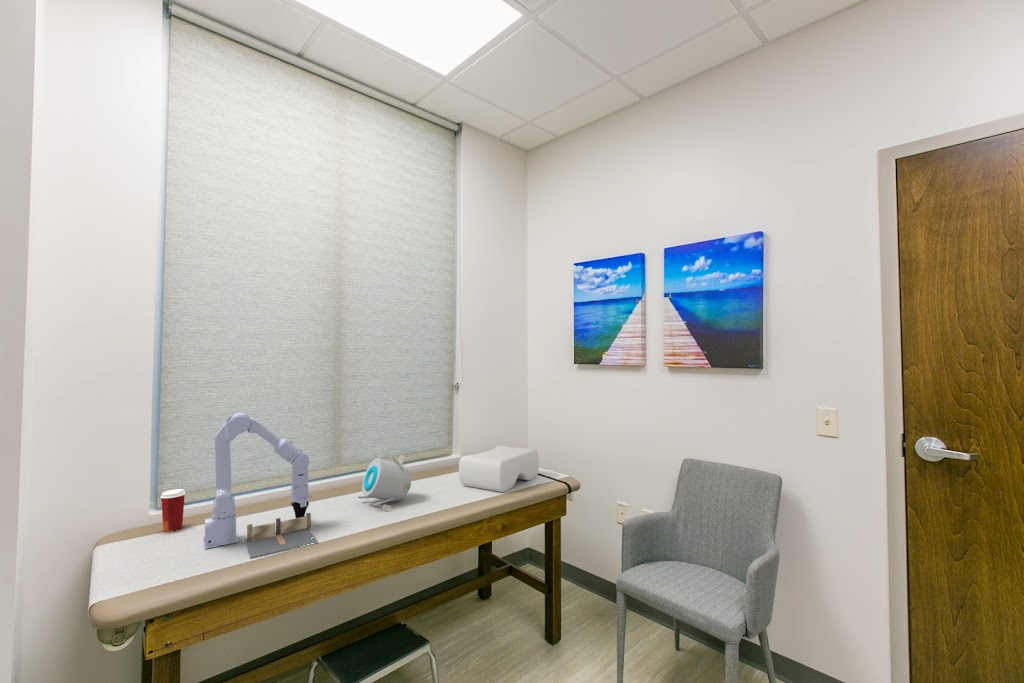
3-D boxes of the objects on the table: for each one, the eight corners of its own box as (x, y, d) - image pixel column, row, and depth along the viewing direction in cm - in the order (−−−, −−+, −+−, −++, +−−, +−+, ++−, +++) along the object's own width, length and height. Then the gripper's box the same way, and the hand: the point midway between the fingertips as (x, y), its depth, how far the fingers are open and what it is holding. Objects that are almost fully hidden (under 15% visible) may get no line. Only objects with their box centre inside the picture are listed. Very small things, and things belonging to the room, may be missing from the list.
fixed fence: (247, 542, 156) (247, 526, 157) (246, 540, 158) (246, 524, 158) (275, 536, 161) (275, 520, 161) (274, 534, 163) (274, 519, 163)
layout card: (250, 558, 144) (250, 557, 144) (244, 539, 160) (244, 538, 160) (318, 543, 156) (318, 541, 156) (306, 526, 171) (306, 525, 171)
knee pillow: (500, 495, 207) (500, 462, 208) (458, 487, 221) (457, 456, 221) (539, 477, 236) (538, 448, 237) (499, 471, 250) (499, 444, 251)
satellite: (428, 462, 199) (403, 457, 219) (387, 450, 189) (365, 446, 208) (411, 516, 192) (387, 506, 211) (368, 507, 181) (347, 497, 201)
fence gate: (276, 534, 161) (276, 519, 162) (275, 533, 163) (275, 518, 163) (311, 527, 168) (311, 513, 168) (310, 526, 169) (310, 512, 170)
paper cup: (189, 525, 175) (189, 488, 176) (178, 532, 168) (178, 493, 168) (166, 526, 174) (167, 489, 175) (154, 534, 167) (155, 495, 167)
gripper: (315, 487, 168) (315, 524, 168) (307, 479, 180) (307, 514, 179) (294, 490, 164) (294, 529, 164) (287, 482, 176) (287, 518, 175)
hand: (300, 521), depth 171 cm, fingers closed
